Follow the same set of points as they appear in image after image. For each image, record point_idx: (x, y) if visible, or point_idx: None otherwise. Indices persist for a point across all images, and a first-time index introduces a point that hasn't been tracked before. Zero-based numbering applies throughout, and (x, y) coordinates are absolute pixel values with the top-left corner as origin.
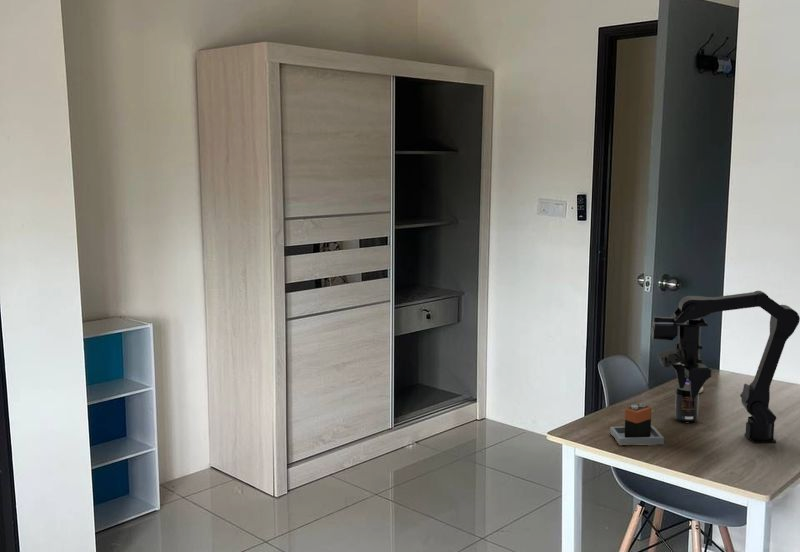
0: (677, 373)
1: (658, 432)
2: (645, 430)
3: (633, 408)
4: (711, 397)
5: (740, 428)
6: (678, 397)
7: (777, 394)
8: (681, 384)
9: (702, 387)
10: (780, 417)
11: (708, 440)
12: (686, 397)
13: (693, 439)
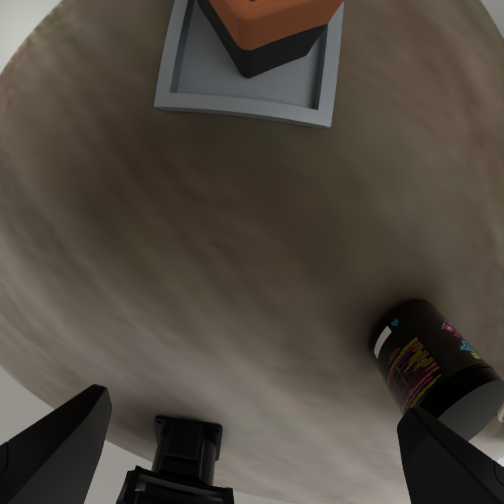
0: (491, 499)
1: (228, 107)
2: (218, 30)
3: None
4: None
5: (278, 435)
6: (456, 358)
7: (409, 498)
8: (415, 440)
9: (501, 421)
10: (315, 495)
11: (190, 318)
12: (425, 390)
13: (208, 269)
